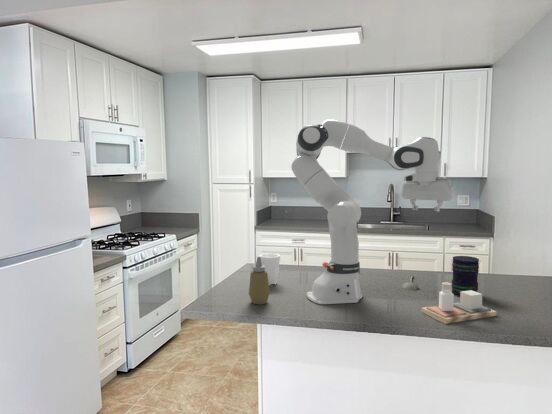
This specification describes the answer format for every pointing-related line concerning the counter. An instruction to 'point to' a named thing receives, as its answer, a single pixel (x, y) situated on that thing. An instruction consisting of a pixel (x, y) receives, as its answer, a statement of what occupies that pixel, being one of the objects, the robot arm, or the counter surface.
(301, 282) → the counter surface
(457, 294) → the storage jar
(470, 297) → the cream block
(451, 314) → the oak board
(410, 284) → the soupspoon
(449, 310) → the pepper shaker
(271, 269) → the foam cup
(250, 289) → the squeeze bottle
